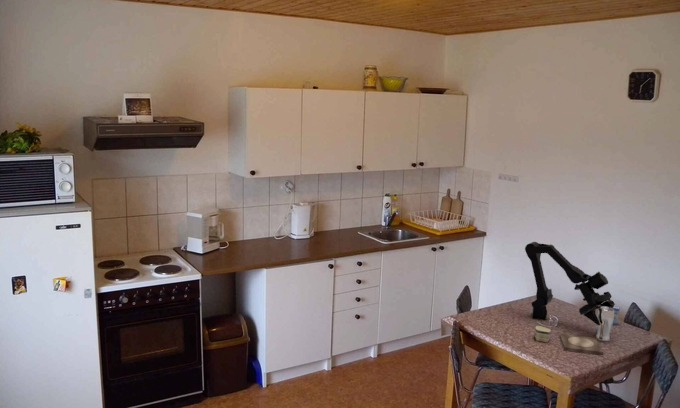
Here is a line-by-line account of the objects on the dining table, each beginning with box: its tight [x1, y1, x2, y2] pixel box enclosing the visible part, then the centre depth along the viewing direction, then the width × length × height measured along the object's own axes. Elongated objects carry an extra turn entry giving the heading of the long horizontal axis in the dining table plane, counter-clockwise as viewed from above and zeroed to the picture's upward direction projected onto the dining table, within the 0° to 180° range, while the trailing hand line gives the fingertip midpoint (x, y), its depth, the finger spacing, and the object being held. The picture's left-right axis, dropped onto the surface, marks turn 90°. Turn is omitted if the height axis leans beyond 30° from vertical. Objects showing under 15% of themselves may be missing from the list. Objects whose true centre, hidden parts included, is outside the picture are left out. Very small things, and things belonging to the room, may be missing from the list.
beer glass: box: [595, 306, 614, 342], centre depth 267 cm, size 7×7×15 cm
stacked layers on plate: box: [534, 325, 552, 343], centre depth 264 cm, size 10×9×6 cm
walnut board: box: [559, 333, 604, 356], centre depth 259 cm, size 16×16×2 cm
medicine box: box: [612, 305, 621, 326], centre depth 289 cm, size 8×4×9 cm, turn 62°
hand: (606, 323), depth 266 cm, fingers open, 9 cm apart
